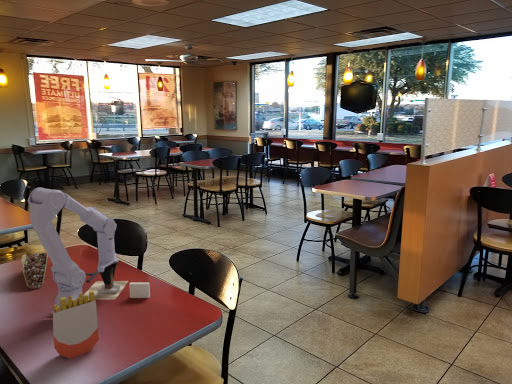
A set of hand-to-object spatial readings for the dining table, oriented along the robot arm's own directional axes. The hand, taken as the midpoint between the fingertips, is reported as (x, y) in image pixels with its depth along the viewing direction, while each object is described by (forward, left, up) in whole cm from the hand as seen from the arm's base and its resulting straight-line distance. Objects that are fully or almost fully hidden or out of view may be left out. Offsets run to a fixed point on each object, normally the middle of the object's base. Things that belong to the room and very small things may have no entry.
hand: (108, 282), depth 150 cm
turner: (0, 0, -3) cm, 3 cm away
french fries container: (-38, -4, -4) cm, 38 cm away
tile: (-5, -13, -4) cm, 14 cm away
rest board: (+1, +2, -4) cm, 4 cm away
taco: (+15, +35, -4) cm, 38 cm away
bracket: (+16, +18, -5) cm, 25 cm away
